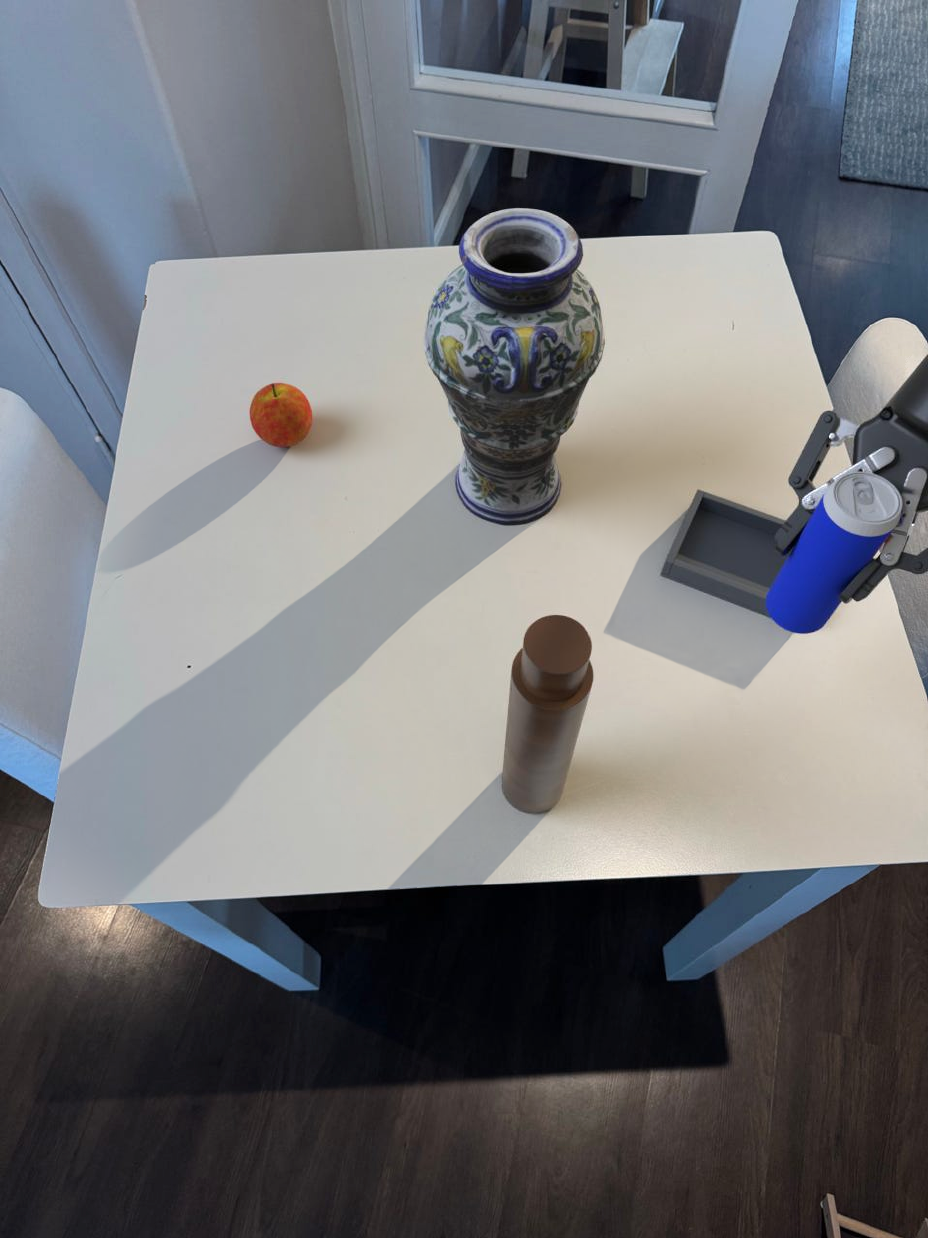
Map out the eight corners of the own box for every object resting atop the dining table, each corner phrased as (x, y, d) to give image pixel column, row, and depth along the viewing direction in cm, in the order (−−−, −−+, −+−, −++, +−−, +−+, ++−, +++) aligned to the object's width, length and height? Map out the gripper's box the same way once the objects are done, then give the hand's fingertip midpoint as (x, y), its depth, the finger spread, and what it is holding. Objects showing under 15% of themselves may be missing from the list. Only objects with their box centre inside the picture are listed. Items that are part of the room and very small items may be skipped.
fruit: (321, 453, 97) (309, 402, 90) (261, 464, 96) (245, 414, 89) (311, 410, 100) (300, 358, 93) (253, 421, 99) (237, 369, 92)
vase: (433, 547, 90) (417, 315, 64) (432, 428, 98) (417, 182, 73) (588, 543, 90) (634, 310, 64) (573, 424, 99) (608, 178, 73)
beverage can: (832, 637, 68) (915, 527, 55) (769, 637, 68) (837, 527, 56) (819, 584, 71) (896, 467, 58) (758, 584, 71) (821, 467, 58)
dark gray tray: (824, 551, 89) (833, 536, 87) (798, 628, 84) (806, 615, 82) (692, 503, 92) (697, 488, 90) (659, 575, 87) (664, 561, 85)
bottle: (572, 770, 76) (614, 626, 54) (548, 824, 74) (581, 696, 52) (517, 745, 78) (535, 594, 55) (491, 797, 75) (499, 661, 53)
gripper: (882, 312, 56) (722, 517, 63) (1086, 430, 51) (887, 642, 57) (893, 338, 63) (747, 522, 69) (1075, 445, 57) (898, 634, 63)
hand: (811, 575), depth 63 cm, fingers closed on beverage can, 5 cm apart
